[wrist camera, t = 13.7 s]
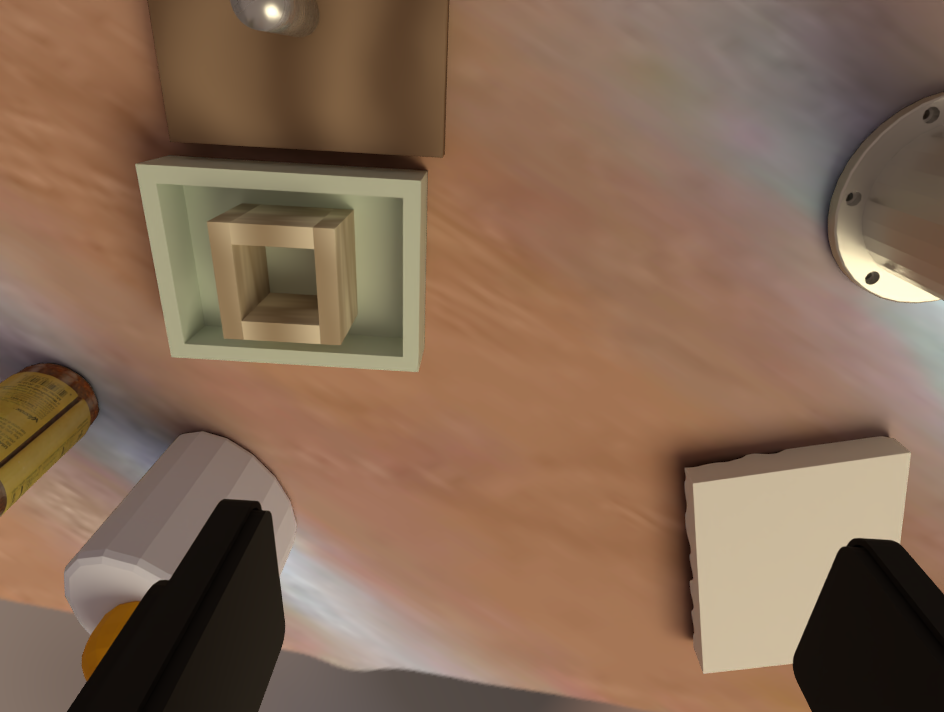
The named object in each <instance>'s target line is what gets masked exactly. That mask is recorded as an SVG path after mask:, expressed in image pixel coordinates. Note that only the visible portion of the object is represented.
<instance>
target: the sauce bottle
mask: <svg viewBox="0 0 944 712" xmlns="http://www.w3.org/2000/svg"><path fill="white" fill-rule="evenodd" d="M98 412H99V408H98V401H97V399H96V396H95V394H94V391H93V390H92V387H91V386H90V384H89V383H88V382H87V381H86V380H85V379H83V377H82V376H80V375H78V374H77V373H75V372H73V371H72V370H71V369H69V368H67V367H63V366H61V365H56V364H52V363H46V364H44V363H42V364H37V365H32V366H29V367H26V368H24V369H23V370H21V371H20V372H18V373H17V374H14V375H12V376H10V377H9V378H7V379H6V380H4V381H3V382H1V383H0V517H1V516H2V515H3V514H4V513H5V512H6V511H7V510H8V509H9V508H10V507H11V506H12V505H13V504H14V503H15V502H16V501H17V500H18V499H19V498H20V497H21V496H22V495H23V494H24V493H25V492H26V491H27V490H28V489H29V488H30V487H31V486H32V485H33V484H34V483H35V482H36V481H37V480H38V479H39V478H40V477H41V476H42V475H43V474H45V473H46V472H47V471H48V470H49V469H50V468H51V467H52V466H53V465H54V464H55V463H56V462H57V461H58V460H59V459H60V458H61V457H62V456H63V455H64V454H65V453H66V452H67V451H68V450H69V449H70V448H72V447H73V446H74V445H75V444H76V443H77V442H78V441H79V440H80V439H81V438H82V437H83V436H84V435H85V433H86V432H87V430H88V428H89V426H90V425H91V424H92V423H93V421H94V420H95V419H96V417H97V415H98Z"/></svg>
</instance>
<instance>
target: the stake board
mask: <svg viewBox="0 0 944 712" xmlns="http://www.w3.org/2000/svg"><path fill="white" fill-rule="evenodd" d="M147 1H148V7H149V13H150V19H151V25H152V32H153V38H154V44H155V50H156V57H157V63H158V69H159V75H160V81H161V88H162V94H163V100H164V106H165V113H166V119H167V125H168V131H169V138H170V142H183V143H200V144H217V145H234V146H251V147H269V148H286V149H303V150H320V151H337V152H354V153H371V154H388V155H405V156H422V157H439V158H443V156H444V154H445V121H446V88H447V55H448V22H449V0H316V2H317V4H318V7H319V22H318V25H317V27H316V29H315V30H314V31H313V32H312V33H311V34H310V35H308V36H306V37H293V36H287V35H282V34H276V33H270V32H265V31H259V30H254V29H251V28H249V27H247V26H246V25H244V24H243V23H242V22H241V21H240V20H239V19H238V18H237V16H236V15H235V13H234V11H233V9H232V6H231V2H230V0H147Z"/></svg>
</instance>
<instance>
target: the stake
mask: <svg viewBox="0 0 944 712" xmlns="http://www.w3.org/2000/svg"><path fill="white" fill-rule="evenodd" d="M230 2H231V6H232V9H233V11H234V13H235V15H236V16H237V18H238V19H239V20H240V21H241V22H242V23H243V24H244V25H246V26H247V27H249V28H251V29H254V30H259V31H265V32H270V33H276V34H282V35H287V36H293V37H306V36H308V35H310V34H311V33H312V32H313V31H314V30H315V29H316V27H317V25H318V22H319V7H318V4H317V2H316V0H230Z"/></svg>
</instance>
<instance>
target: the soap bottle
mask: <svg viewBox="0 0 944 712" xmlns="http://www.w3.org/2000/svg"><path fill="white" fill-rule="evenodd" d="M223 499H235V500H251V501H259V503H260V504H261V507H262V510H266V511H270V512H271V514H272V520H273V528H274V536H275V545H276V553H277V561H278V569H279V577H280V574H281V572H282V570H283V567H284V565H285V563H286V560H287V558H288V555H289V553H290V551H291V548H292V546H293V544H294V538H295V533H296V528H297V524H296V520H295V516H294V513H293V509H292V505H291V502H290V499H289V498H288V496H287V495H286V493H285V491H284V490H283V488H282V487H281V485H280V484H279V482H278V480H277V479H276V477H275V476H274V475H273V474H272V473H271V472H270V471H269V470H268V469H267V468H266V467H265V466H264V465H263V464H262V463H261V462H260V461H259V460H258V459H257V458H256V457H255V456H254V455H253V454H251V453H250V452H248V451H247V450H245V449H243V448H242V447H240V446H239V445H237V444H235V443H234V442H232V441H231V440H229V439H228V438H224V437H221V436H218V435H214V434H211V433H208V432H204V431H200V432H193V433H186V434H181V435H179V436H178V438H177V439H176V440H175V441H174V442H173V443H172V444H171V445H170V446H169V447H168V449H167V450H166V451H165V452H164V453H163V454H162V455H161V457H160V458H159V459H158V460H157V461H156V462H155V464H154V465H153V466H152V467H151V468H150V469H149V471H148V472H147V473H146V474H145V475H144V476H143V478H142V479H141V480H140V481H139V482H138V483H137V485H136V486H135V487H134V488H133V489H132V490H131V491H130V493H129V494H128V495H127V496H126V497H125V498H124V500H123V501H122V502H121V503H120V504H119V505H118V507H117V508H116V509H115V510H114V511H113V512H112V514H111V515H110V516H109V517H108V518H107V519H106V520H105V522H104V523H103V524H102V525H101V526H100V527H99V529H98V530H97V531H96V532H95V533H94V534H93V536H92V537H91V538H90V539H89V540H88V541H87V543H86V544H85V545H84V546H83V547H82V548H81V550H80V551H79V552H78V553H77V554H76V555H75V556H74V558H73V559H72V560H71V561H70V562H69V563H68V565H67V566H66V567H65V571H64V584H65V597H66V599H67V601H68V602H69V604H70V606H71V608H72V610H73V612H74V614H75V616H76V618H77V619H78V621H79V623H80V624H81V625H82V626H83V627H84V629H85V630H86V631H87V632H88V633H89V634H90V635H91V636H90V638H89V640H88V642H87V644H86V646H85V649H84V652H83V655H82V669H83V673H84V676H85V679H86V681H88V679H89V678H90V676H91V675H92V673H93V672H94V670H95V669H96V667H97V666H98V664H99V663H100V661H101V660H102V658H103V657H104V655H105V654H106V652H107V651H108V649H109V648H110V646H111V645H112V643H113V642H114V640H115V639H116V637H117V636H118V634H119V633H120V631H121V630H122V628H123V627H124V625H125V624H126V622H127V621H128V619H129V618H130V616H131V615H132V613H133V612H134V610H135V609H136V607H137V606H138V604H139V603H140V601H141V600H142V598H143V597H144V595H145V594H146V592H147V591H148V590H149V589H150V587H151V586H152V585H153V584H155V583H156V582H158V581H159V580H170V578H171V577H172V575H173V573H174V572H175V570H176V569H177V567H178V566H179V564H180V562H181V561H182V559H183V558H184V556H185V555H186V553H187V551H188V550H189V548H190V547H191V545H192V544H193V542H194V540H195V539H196V537H197V536H198V534H199V532H200V531H201V529H202V528H203V526H204V525H205V523H206V521H207V520H208V518H209V517H210V515H211V514H212V512H213V510H214V509H215V507H216V506H217V504H218V503H219V502H220V501H221V500H223Z"/></svg>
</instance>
